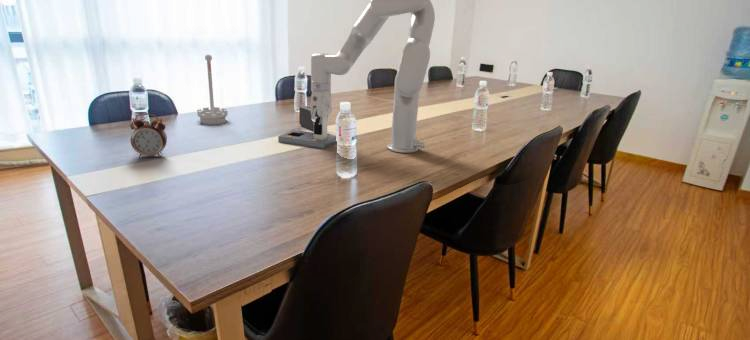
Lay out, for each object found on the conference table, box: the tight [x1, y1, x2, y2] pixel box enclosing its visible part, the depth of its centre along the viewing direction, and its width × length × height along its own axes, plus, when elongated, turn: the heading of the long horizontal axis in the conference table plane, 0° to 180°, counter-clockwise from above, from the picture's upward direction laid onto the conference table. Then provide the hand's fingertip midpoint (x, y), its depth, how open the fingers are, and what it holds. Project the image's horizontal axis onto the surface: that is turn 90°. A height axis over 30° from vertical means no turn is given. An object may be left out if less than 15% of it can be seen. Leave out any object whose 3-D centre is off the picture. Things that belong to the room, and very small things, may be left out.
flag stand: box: [196, 54, 228, 125], centre depth 194 cm, size 13×13×30 cm
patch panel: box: [278, 129, 337, 150], centre depth 174 cm, size 20×12×3 cm, turn 71°
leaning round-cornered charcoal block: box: [298, 105, 314, 132], centre depth 193 cm, size 16×5×9 cm, turn 39°
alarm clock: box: [129, 113, 168, 159], centre depth 145 cm, size 11×5×15 cm, turn 105°
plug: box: [314, 115, 328, 141], centre depth 170 cm, size 5×4×11 cm
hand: (320, 132), depth 171 cm, fingers closed on plug, 4 cm apart
